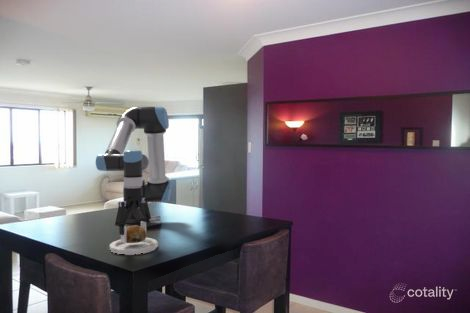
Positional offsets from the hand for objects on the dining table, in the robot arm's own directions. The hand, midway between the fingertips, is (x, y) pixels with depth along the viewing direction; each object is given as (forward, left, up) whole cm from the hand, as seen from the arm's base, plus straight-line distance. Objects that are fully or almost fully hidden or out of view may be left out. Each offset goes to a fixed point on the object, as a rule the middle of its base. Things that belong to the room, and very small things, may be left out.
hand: (133, 239), depth 155 cm
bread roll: (0, 0, -1) cm, 1 cm away
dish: (0, 0, -4) cm, 4 cm away
